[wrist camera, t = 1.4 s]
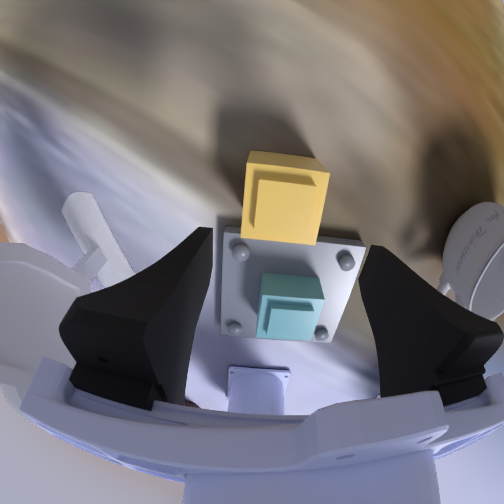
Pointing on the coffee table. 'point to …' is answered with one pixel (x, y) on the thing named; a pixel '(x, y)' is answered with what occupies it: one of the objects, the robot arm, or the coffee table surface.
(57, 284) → the heart sculpture
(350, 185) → the coffee table surface
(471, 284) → the teacup
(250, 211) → the ochre brick
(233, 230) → the base plate
